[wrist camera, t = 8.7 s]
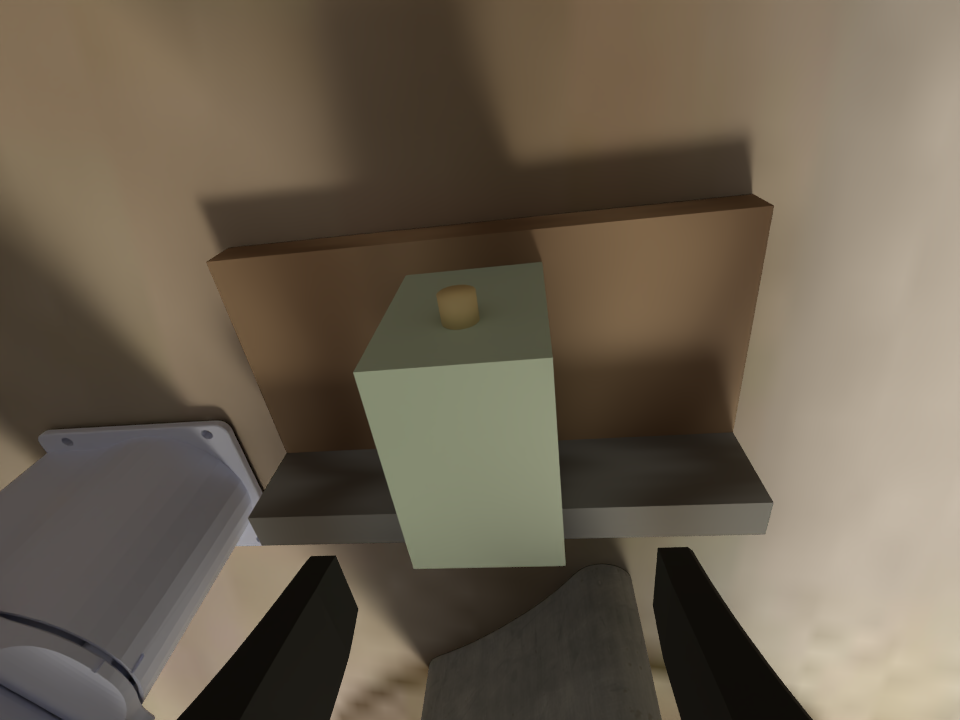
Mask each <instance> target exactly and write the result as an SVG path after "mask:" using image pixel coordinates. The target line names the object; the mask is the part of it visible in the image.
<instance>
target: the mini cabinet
mask: <svg viewBox="0 0 960 720" xmlns="http://www.w3.org/2000/svg"><path fill="white" fill-rule="evenodd" d="M353 374H354V377H355V380H356V383H357V387H358V390H359V393H360V396H361V400H362V403H363V406H364V409H365V413H366V416H367V419H368V422H369V426H370V429H371V432H372V435H373V439H374V442H375V445H376V448H377V452H378V455H379V458H380V461H381V465H382V468H383V471H384V474H385V478H386V481H387V484H388V487H389V490H390V494H391V497H392V500H393V503H394V507H395V510H396V513H397V516H398V520H399V523H400V526H401V529H402V533H403V536H404V539H405V542H406V546H407V549H408V552H409V555H410V559H411V562H412V565H413V568H414V569H438V568H486V567H534V566H566V563H565V547H564V531H563V515H562V499H561V483H560V466H559V450H558V434H557V418H556V402H555V386H554V370H553V355H552V346H551V337H550V328H549V319H548V310H547V301H546V292H545V283H544V274H543V265H542V262H536V263H526V264H516V265H505V266H495V267H485V268H475V269H465V270H455V271H445V272H435V273H424V274H414V275H406V276H405V278H404V280H403V282H402V283H401V285H400V287H399V289H398V291H397V293H396V294H395V296H394V298H393V300H392V302H391V304H390V305H389V307H388V309H387V311H386V313H385V315H384V317H383V318H382V320H381V322H380V324H379V326H378V328H377V329H376V331H375V333H374V335H373V337H372V339H371V340H370V342H369V344H368V346H367V348H366V350H365V352H364V353H363V355H362V357H361V359H360V361H359V363H358V364H357V366H356V368H355V370H354V372H353Z"/></svg>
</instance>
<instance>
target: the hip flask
mask: <svg viewBox="0 0 960 720" xmlns="http://www.w3.org/2000/svg"><path fill="white" fill-rule="evenodd" d="M421 720H662V719H661V715H660V710H659V705H658V701H657V696H656V691H655V687H654V682H653V677H652V673H651V668H650V664H649V659H648V654H647V650H646V645H645V640H644V636H643V631H642V626H641V622H640V617H639V613H638V608H637V603H636V599H635V594H634V589H633V585H632V580H631V577H630V576H629V574H628V573H627V572H626V571H624V570H623V569H621V568H619V567H616V566H613V565H608V564H597V565H591V566H588V567H585V568H583V569H581V570H579V571H578V572H577V573H576V574H575V575H573V576H572V577H571V578H570V579H569V580H568V581H567V582H566V583H565V584H564V585H562V586H561V587H560V588H559V589H558V590H557V591H555V592H554V593H553V594H552V595H550V596H549V597H548V598H546V599H545V600H544V601H542V602H541V603H540V604H538V605H537V606H535V607H534V608H532V609H531V610H529V611H528V612H526V613H525V614H523V615H522V616H520V617H518V618H517V619H515V620H513V621H512V622H510V623H508V624H507V625H505V626H503V627H502V628H500V629H498V630H496V631H495V632H493V633H491V634H489V635H487V636H485V637H483V638H481V639H479V640H477V641H475V642H473V643H471V644H469V645H466V646H464V647H462V648H459V649H457V650H454V651H452V652H449V653H447V654H444V655H441V656H438V657H436V658H434V659H433V660H432V661H431V662H430V665H429V671H428V678H427V684H426V691H425V697H424V704H423V711H422V717H421Z"/></svg>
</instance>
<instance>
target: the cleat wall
mask: <svg viewBox="0 0 960 720" xmlns="http://www.w3.org/2000/svg"><path fill="white" fill-rule="evenodd" d="M773 208H774V205H772V204H770V203H768V202H766V201H765V200H763V199H761V198H759V197H757V196H756V195H754V194H749V195H739V196H730V197H720V198H710V199H700V200H691V201H681V202H671V203H661V204H652V205H642V206H632V207H622V208H612V209H603V210H593V211H583V212H573V213H564V214H554V215H544V216H534V217H524V218H515V219H505V220H495V221H485V222H476V223H466V224H456V225H446V226H437V227H427V228H417V229H407V230H397V231H388V232H378V233H368V234H358V235H349V236H339V237H329V238H319V239H310V240H300V241H290V242H280V243H270V244H261V245H251V246H241V247H231V248H228V249H226V250H224V251H223V252H221V253H220V254H218V255H217V256H215V257H213V258H212V259H210V260H209V261H207V262H206V263H207V265H208V267H209V270H210V272H211V274H212V277H213V279H214V282H215V284H216V286H217V289H218V291H219V293H220V296H221V298H222V301H223V303H224V305H225V308H226V310H227V312H228V315H229V317H230V319H231V322H232V324H233V327H234V329H235V331H236V334H237V336H238V338H239V341H240V343H241V346H242V348H243V350H244V353H245V355H246V357H247V360H248V362H249V365H250V367H251V369H252V372H253V374H254V376H255V379H256V381H257V383H258V386H259V388H260V391H261V393H262V395H263V398H264V400H265V402H266V405H267V407H268V410H269V412H270V414H271V417H272V419H273V421H274V424H275V426H276V429H277V431H278V433H279V436H280V438H281V440H282V443H283V445H284V448H285V450H286V452H287V454H286V455H285V457H284V459H283V460H282V462H281V464H280V465H279V467H278V469H277V470H276V472H275V474H274V475H273V477H272V479H271V480H270V482H269V484H268V485H267V487H266V489H265V490H264V492H263V494H262V495H261V497H260V499H259V500H258V502H257V504H256V505H255V507H254V509H253V510H252V512H251V514H250V515H249V517H248V520H249V522H250V524H251V526H252V527H253V529H254V531H255V533H256V535H257V537H258V539H259V541H260V543H261V545H262V546H263V545H308V544H353V543H398V542H405V539H404V536H403V533H402V529H401V526H400V523H399V520H398V516H397V513H396V510H395V507H394V503H393V500H392V497H391V494H390V490H389V487H388V484H387V481H386V478H385V474H384V471H383V468H382V465H381V461H380V458H379V455H378V452H377V448H376V445H375V442H374V439H373V435H372V432H371V429H370V426H369V422H368V419H367V416H366V413H365V409H364V406H363V403H362V400H361V396H360V393H359V390H358V387H357V383H356V380H355V377H354V374H353V372H354V370H355V368H356V366H357V364H358V363H359V361H360V359H361V357H362V355H363V353H364V352H365V350H366V348H367V346H368V344H369V342H370V340H371V339H372V337H373V335H374V333H375V331H376V329H377V328H378V326H379V324H380V322H381V320H382V318H383V317H384V315H385V313H386V311H387V309H388V307H389V305H390V304H391V302H392V300H393V298H394V296H395V294H396V293H397V291H398V289H399V287H400V285H401V283H402V282H403V280H404V278H405V276H406V275H414V274H424V273H435V272H445V271H455V270H465V269H475V268H485V267H495V266H505V265H516V264H526V263H536V262H542V265H543V274H544V283H545V292H546V301H547V310H548V319H549V328H550V337H551V346H552V355H553V370H554V386H555V402H556V418H557V434H558V450H559V466H560V483H561V499H562V515H563V531H564V539H579V538H624V537H670V536H715V535H760V534H766V530H767V526H768V522H769V518H770V514H771V510H772V507H773V501H772V499H771V498H770V496H769V494H768V492H767V491H766V489H765V487H764V485H763V484H762V482H761V480H760V478H759V477H758V475H757V473H756V472H755V470H754V468H753V466H752V465H751V463H750V461H749V459H748V458H747V456H746V454H745V453H744V451H743V449H742V447H741V446H740V444H739V442H738V440H737V439H736V437H735V435H734V433H733V429H734V423H735V418H736V412H737V407H738V401H739V396H740V390H741V385H742V379H743V373H744V368H745V362H746V357H747V351H748V346H749V340H750V335H751V329H752V324H753V318H754V313H755V307H756V302H757V296H758V291H759V285H760V280H761V274H762V269H763V263H764V258H765V252H766V247H767V241H768V236H769V230H770V225H771V219H772V214H773Z"/></svg>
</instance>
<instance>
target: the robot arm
mask: <svg viewBox="0 0 960 720" xmlns="http://www.w3.org/2000/svg"><path fill="white" fill-rule="evenodd" d="M208 431H209V432H208ZM210 432H211V433H210ZM38 441H39V443H40V444H41V446H42V447H43V448H44V450H45V451H46V452H47V453H46V454H45V455H44V456H43V457H42V458H40V459H39V460H38V461H37V462H35V463H34V464H33V465H32V466H31V467H29V468H28V469H27V470H26V471H24V472H23V473H22V474H21V475H20V476H18V477H17V478H16V479H15V480H13V481H12V482H11V483H10V484H9V485H7V486H6V487H5V488H4V489H3V490H1V491H0V720H154V719H155V716H154V715H152V714H151V713H150V712H148V711H147V710H146V709H145V708H144V707H143V706H142V703H143V702H144V700H145V698H146V697H147V695H148V693H149V692H150V690H151V688H152V686H153V685H154V683H155V681H156V680H157V678H158V676H159V675H160V673H161V671H162V670H163V668H164V666H165V664H166V663H167V661H168V659H169V658H170V656H171V654H172V653H173V651H174V649H175V648H176V646H177V644H178V642H179V641H180V639H181V637H182V636H183V634H184V632H185V631H186V629H187V627H188V626H189V624H190V622H191V620H192V619H193V617H194V615H195V614H196V612H197V610H198V609H199V607H200V605H201V604H202V602H203V600H204V599H205V597H206V595H207V593H208V592H209V590H210V588H211V587H212V585H213V583H214V582H215V580H216V578H217V577H218V575H219V573H220V571H221V570H222V568H223V566H224V565H225V563H226V561H227V560H228V558H229V556H230V555H231V553H232V551H233V549H234V548H235V546H262V545H261V543H260V541H259V539H258V537H257V535H256V533H255V531H254V529H253V527H252V526H251V524H250V522H249V520H248V517H249V515H250V514H251V512H252V510H253V509H254V507H255V505H256V504H257V502H258V500H259V499H260V497H261V495H262V494H263V493H262V491H261V489H260V486H259V484H258V482H257V480H256V478H255V476H254V474H253V472H252V470H251V468H250V466H249V464H248V462H247V459H246V457H245V455H244V453H243V451H242V449H241V447H240V445H239V443H238V441H237V439H236V437H235V434H234V432H233V430H232V428H231V427H230V426H229V425H228V424H227V423H226V422H223V421H218V420H216V421H198V422H180V423H162V424H144V425H127V426H109V427H91V428H73V429H55V430H46V431H44V432H43V433H42V434H40V435H39V437H38ZM263 546H265V545H263ZM653 609H654V614H655V619H656V625H657V630H658V635H659V640H660V645H661V650H662V655H663V659H664V663H665V666H666V669H667V673H668V676H669V680H670V683H671V686H672V690H673V693H674V697H675V700H676V703H677V707H678V710H679V713H680V717H681V720H813V719H812V718H811V717H810V716H809V715H808V713H807V712H806V711H805V710H804V708H803V707H802V706H801V705H800V703H799V702H798V701H797V700H796V698H795V697H794V696H793V695H792V693H791V692H790V691H789V690H788V688H787V687H786V686H785V685H784V683H783V682H782V681H781V679H780V678H779V677H778V675H777V674H776V673H775V671H774V670H773V669H772V668H771V666H770V665H769V664H768V662H767V661H766V660H765V658H764V657H763V655H762V654H761V653H760V651H759V650H758V649H757V647H756V646H755V645H754V643H753V642H752V640H751V639H750V638H749V636H748V635H747V634H746V632H745V631H744V630H743V628H742V627H741V625H740V624H739V622H738V621H737V620H736V618H735V617H734V615H733V614H732V612H731V611H730V609H729V608H728V606H727V605H726V603H725V602H724V600H723V599H722V597H721V596H720V594H719V593H718V591H717V590H716V588H715V587H714V585H713V584H712V582H711V581H710V579H709V577H708V576H707V574H706V573H705V571H704V569H703V568H702V566H701V564H700V563H699V561H698V559H697V558H696V556H695V554H694V552H693V551H692V550H691V549H690V548H688V547H673V548H658V552H657V564H656V576H655V587H654V599H653ZM357 613H358V607H357V605H356V602H355V600H354V598H353V595H352V593H351V590H350V588H349V586H348V583H347V581H346V579H345V576H344V574H343V572H342V569H341V567H340V565H339V562H338V560H337V557H336V556H311V557H310V558H309V559H308V560H307V561H306V563H305V564H304V565H303V566H302V568H301V569H300V570H299V572H298V573H297V574H296V576H295V577H294V578H293V579H292V581H291V582H290V583H289V585H288V586H287V587H286V589H285V590H284V591H283V593H282V594H281V595H280V597H279V598H278V599H277V600H276V602H275V603H274V604H273V606H272V607H271V608H270V609H269V611H268V612H267V613H266V615H265V616H264V617H263V618H262V620H261V621H260V622H259V623H258V625H257V626H256V627H255V628H254V630H253V631H252V632H251V633H250V635H249V636H248V637H247V638H246V640H245V641H244V642H243V643H242V645H241V646H240V647H239V648H238V650H237V651H236V652H235V653H234V655H233V656H232V657H231V658H230V659H229V661H228V662H227V663H226V664H225V665H224V666H223V668H222V669H221V670H220V671H219V672H218V673H217V675H216V676H215V677H214V678H213V679H212V680H211V682H210V683H209V684H208V685H207V686H206V687H205V689H204V690H203V691H202V692H201V693H200V694H199V695H198V697H197V698H196V699H195V700H194V701H193V702H192V703H191V704H190V706H189V707H188V708H187V709H186V710H185V711H184V712H183V713H182V714H181V715H180V717H179V718H178V719H177V720H330V717H331V714H332V711H333V708H334V705H335V701H336V698H337V695H338V692H339V688H340V685H341V682H342V679H343V675H344V672H345V669H346V665H347V662H348V658H349V654H350V649H351V645H352V640H353V635H354V629H355V624H356V618H357Z"/></svg>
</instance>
